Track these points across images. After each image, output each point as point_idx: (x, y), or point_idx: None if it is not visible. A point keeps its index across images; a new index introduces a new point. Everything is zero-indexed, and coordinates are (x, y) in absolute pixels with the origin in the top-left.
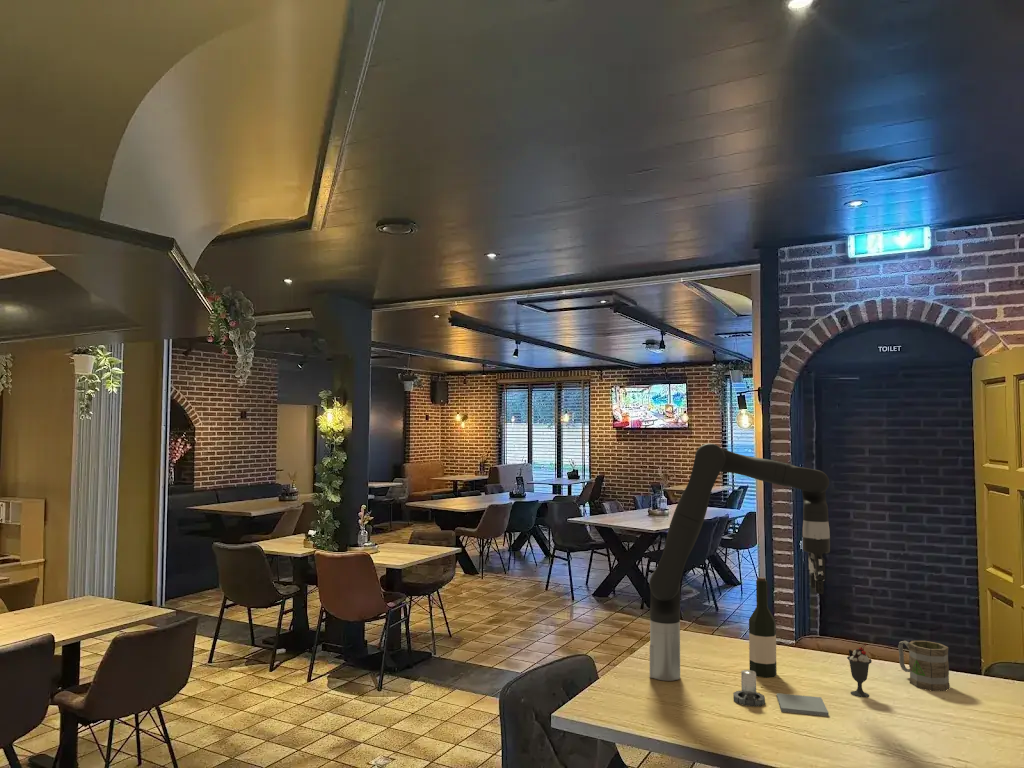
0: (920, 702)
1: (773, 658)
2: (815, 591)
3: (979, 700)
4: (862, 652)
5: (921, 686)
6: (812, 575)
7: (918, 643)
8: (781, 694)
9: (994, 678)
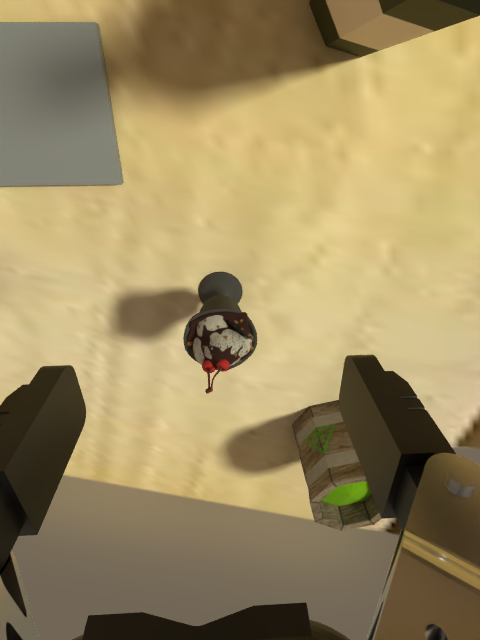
0: (209, 395)
1: (343, 27)
2: (56, 369)
3: (257, 475)
4: (203, 363)
5: (304, 415)
6: (404, 468)
7: None
8: (87, 42)
9: None
